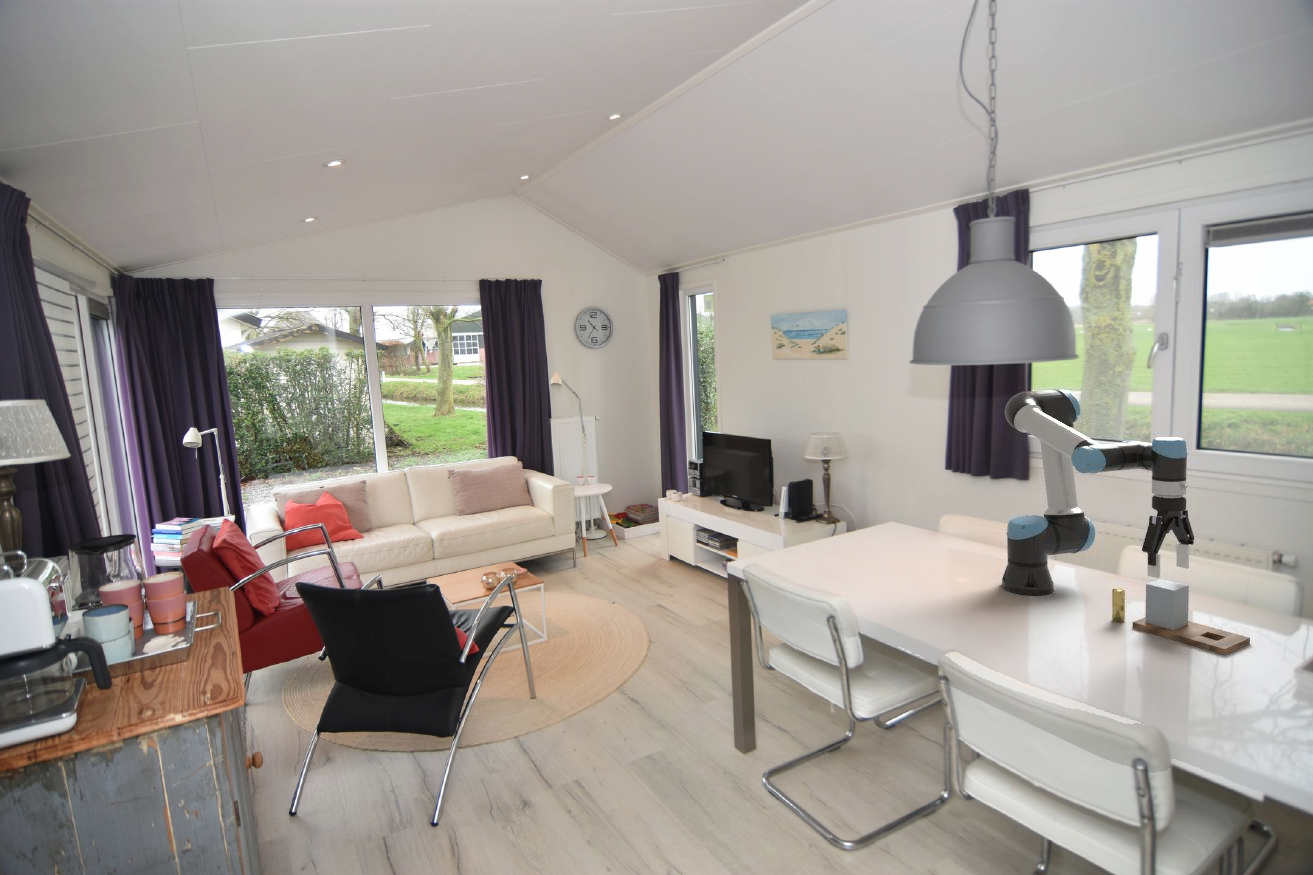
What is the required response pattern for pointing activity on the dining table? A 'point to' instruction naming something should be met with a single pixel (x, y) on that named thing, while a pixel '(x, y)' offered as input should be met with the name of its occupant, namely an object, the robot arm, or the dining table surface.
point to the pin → (1118, 605)
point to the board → (1198, 636)
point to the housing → (1167, 604)
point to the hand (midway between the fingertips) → (1168, 572)
